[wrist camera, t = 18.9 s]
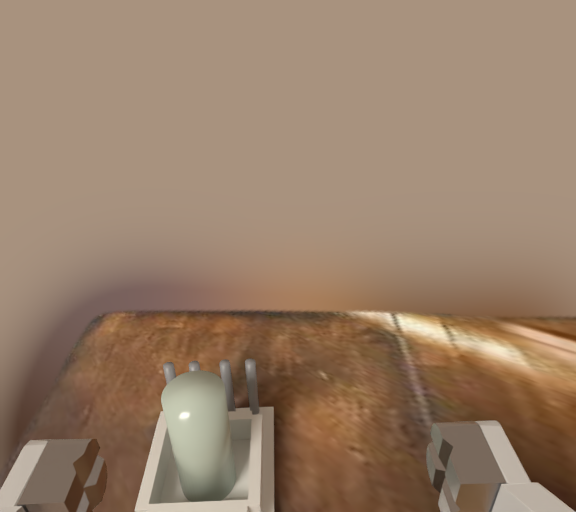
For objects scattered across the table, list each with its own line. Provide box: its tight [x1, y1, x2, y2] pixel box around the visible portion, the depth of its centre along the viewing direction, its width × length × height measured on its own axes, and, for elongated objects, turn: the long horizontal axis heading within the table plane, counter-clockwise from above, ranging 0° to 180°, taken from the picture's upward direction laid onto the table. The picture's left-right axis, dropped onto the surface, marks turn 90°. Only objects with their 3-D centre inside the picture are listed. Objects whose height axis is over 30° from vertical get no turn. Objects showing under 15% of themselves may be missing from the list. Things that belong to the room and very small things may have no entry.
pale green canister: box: [161, 370, 236, 502], centre depth 39 cm, size 5×5×11 cm
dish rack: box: [135, 359, 274, 512], centre depth 40 cm, size 12×16×8 cm
